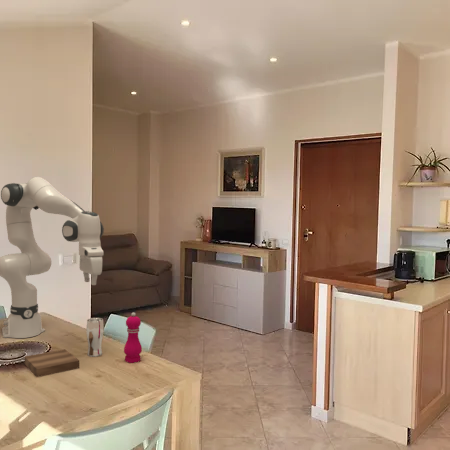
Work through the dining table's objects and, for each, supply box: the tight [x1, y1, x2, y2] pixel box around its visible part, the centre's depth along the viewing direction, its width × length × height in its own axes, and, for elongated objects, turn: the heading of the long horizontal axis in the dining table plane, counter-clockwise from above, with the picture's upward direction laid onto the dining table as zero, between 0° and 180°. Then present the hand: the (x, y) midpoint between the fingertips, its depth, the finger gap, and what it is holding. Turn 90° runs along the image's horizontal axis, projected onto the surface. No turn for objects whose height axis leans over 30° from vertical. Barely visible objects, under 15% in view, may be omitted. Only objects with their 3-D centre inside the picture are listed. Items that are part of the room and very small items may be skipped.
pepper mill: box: [123, 312, 143, 364], centre depth 191 cm, size 7×7×20 cm
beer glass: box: [85, 317, 104, 358], centre depth 197 cm, size 7×7×15 cm
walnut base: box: [24, 348, 80, 378], centre depth 183 cm, size 16×16×3 cm
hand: (90, 283), depth 195 cm, fingers open, 8 cm apart
